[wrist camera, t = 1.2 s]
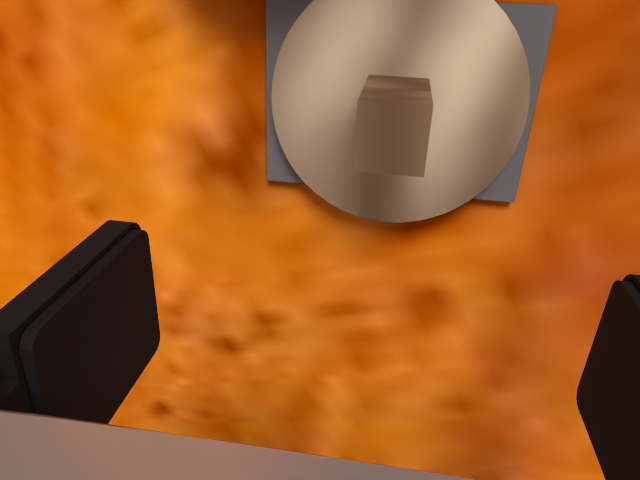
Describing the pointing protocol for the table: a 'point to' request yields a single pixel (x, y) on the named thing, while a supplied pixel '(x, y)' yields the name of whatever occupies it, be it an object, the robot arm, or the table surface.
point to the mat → (535, 36)
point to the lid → (400, 103)
